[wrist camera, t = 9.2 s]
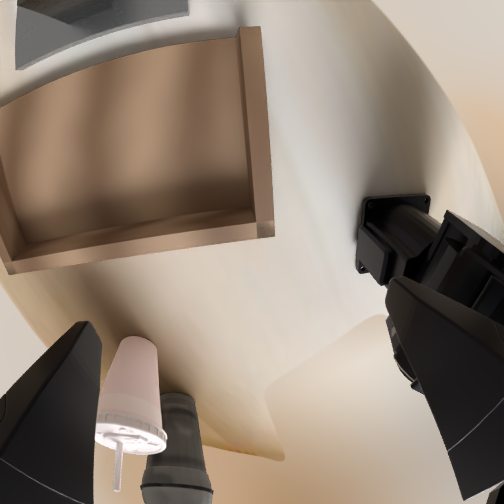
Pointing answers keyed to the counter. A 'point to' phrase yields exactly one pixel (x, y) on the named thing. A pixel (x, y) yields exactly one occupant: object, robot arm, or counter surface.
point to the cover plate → (81, 23)
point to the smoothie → (131, 404)
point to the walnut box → (138, 157)
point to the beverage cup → (177, 457)
